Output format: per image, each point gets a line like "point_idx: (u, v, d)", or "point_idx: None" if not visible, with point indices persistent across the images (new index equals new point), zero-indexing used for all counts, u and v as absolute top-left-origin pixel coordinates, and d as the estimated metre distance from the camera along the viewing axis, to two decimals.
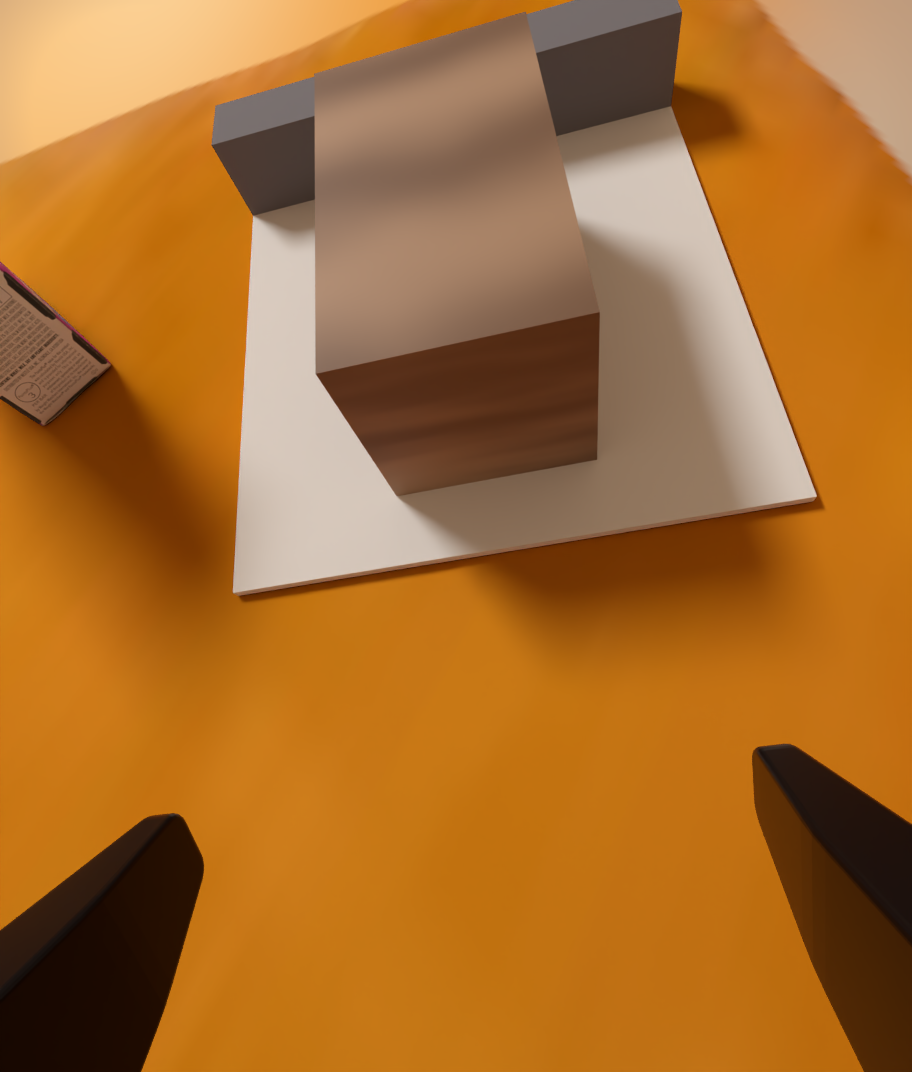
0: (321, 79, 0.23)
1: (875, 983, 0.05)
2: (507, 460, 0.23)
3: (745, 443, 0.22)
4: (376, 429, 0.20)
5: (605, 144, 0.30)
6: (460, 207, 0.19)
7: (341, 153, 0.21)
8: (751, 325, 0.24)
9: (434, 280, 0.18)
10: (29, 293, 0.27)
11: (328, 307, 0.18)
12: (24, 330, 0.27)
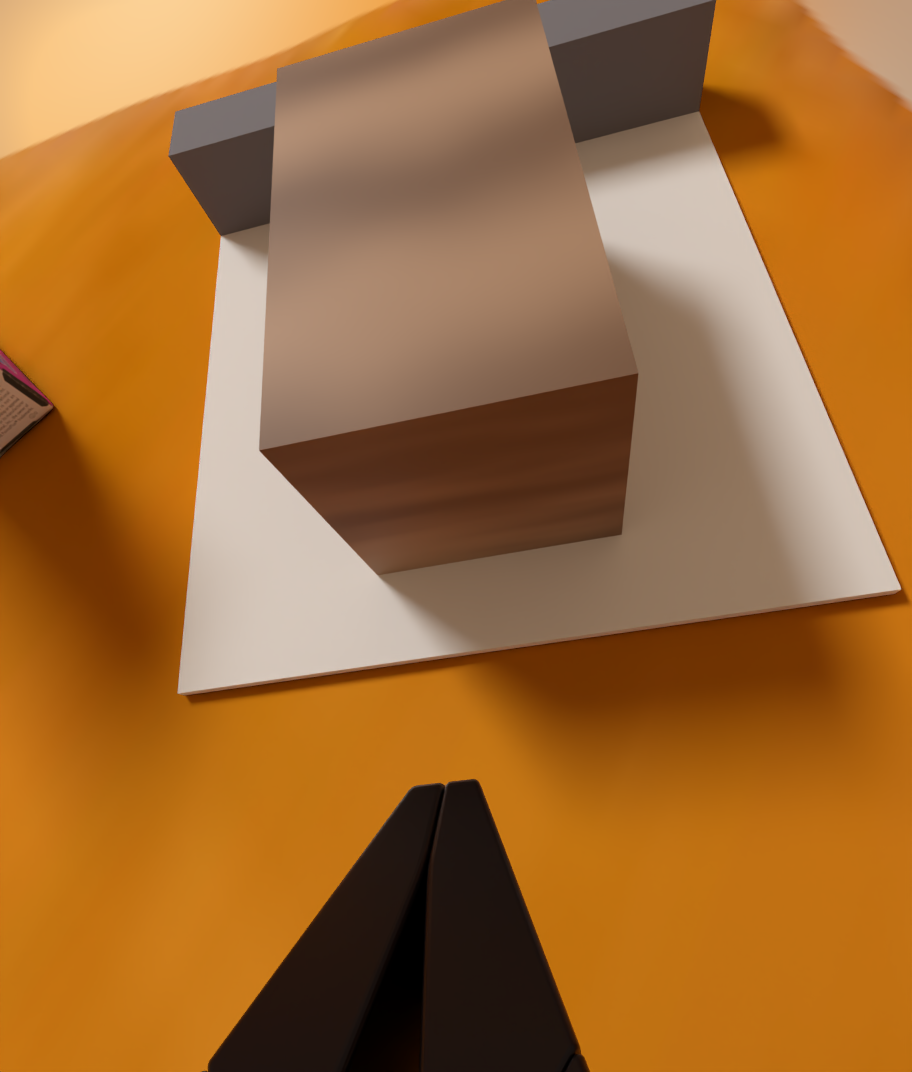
0: (285, 75, 0.19)
1: None
2: (512, 537, 0.19)
3: (806, 517, 0.18)
4: (346, 509, 0.16)
5: (624, 154, 0.26)
6: (452, 230, 0.15)
7: (305, 163, 0.17)
8: (806, 369, 0.20)
9: (417, 325, 0.14)
10: None
11: (280, 360, 0.14)
12: None
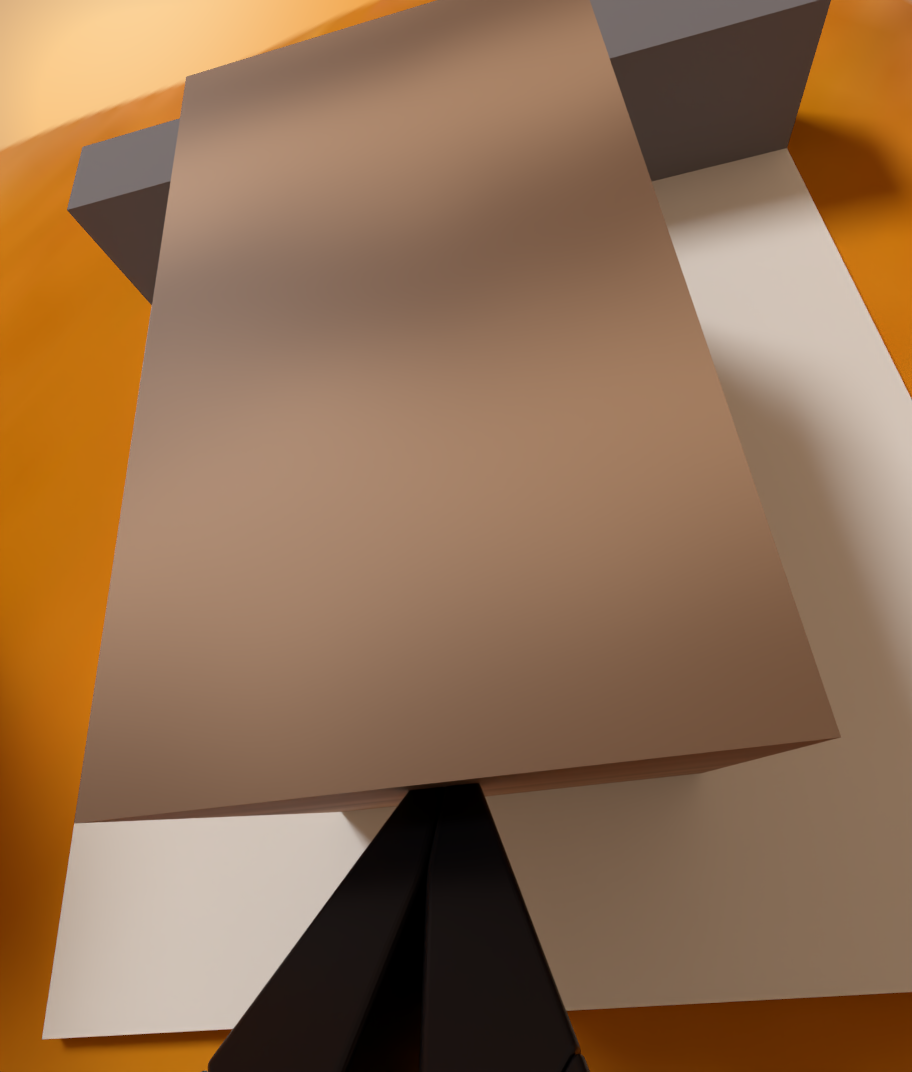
0: (196, 86, 0.12)
1: None
2: (539, 789, 0.12)
3: None
4: (273, 811, 0.10)
5: (685, 207, 0.19)
6: (447, 370, 0.08)
7: (212, 231, 0.10)
8: None
9: (382, 566, 0.07)
10: None
11: (134, 615, 0.08)
12: None
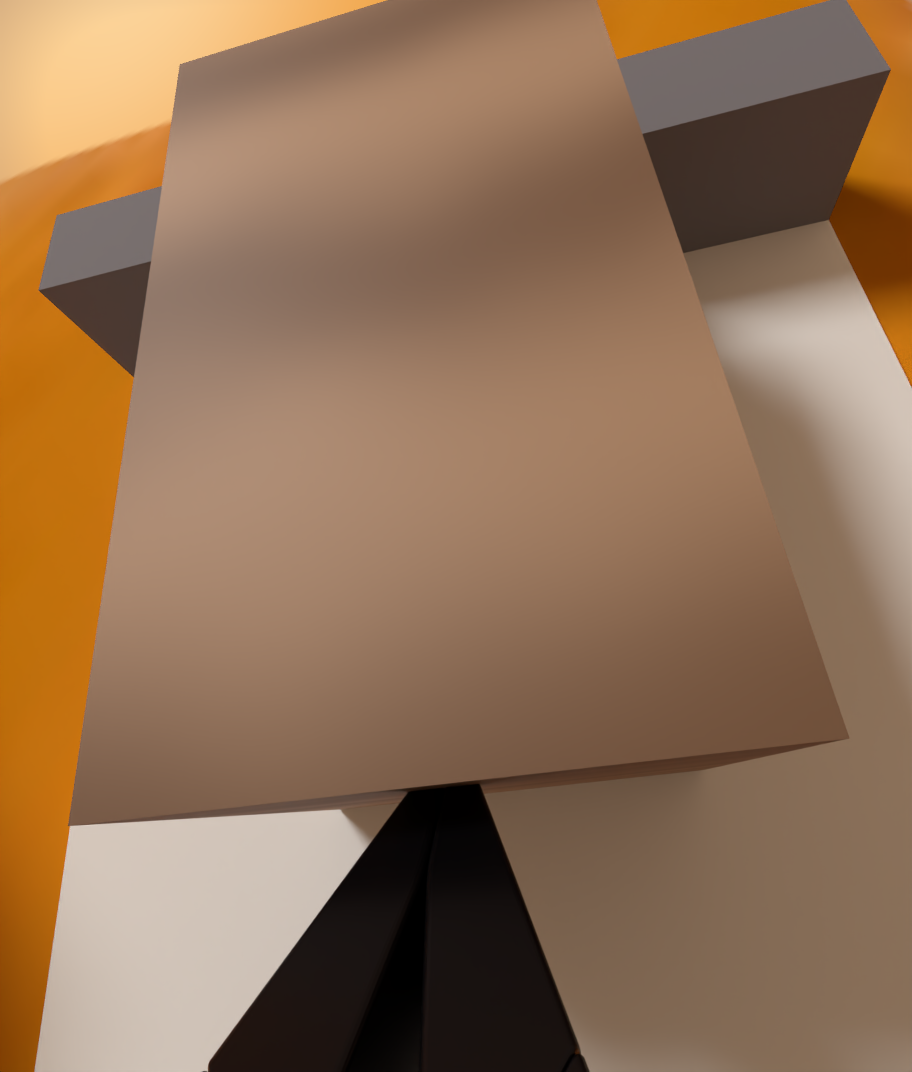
0: (190, 74, 0.12)
1: None
2: (540, 786, 0.12)
3: None
4: (271, 811, 0.10)
5: (718, 285, 0.17)
6: (447, 363, 0.08)
7: (206, 223, 0.10)
8: None
9: (381, 564, 0.07)
10: None
11: (128, 613, 0.08)
12: None
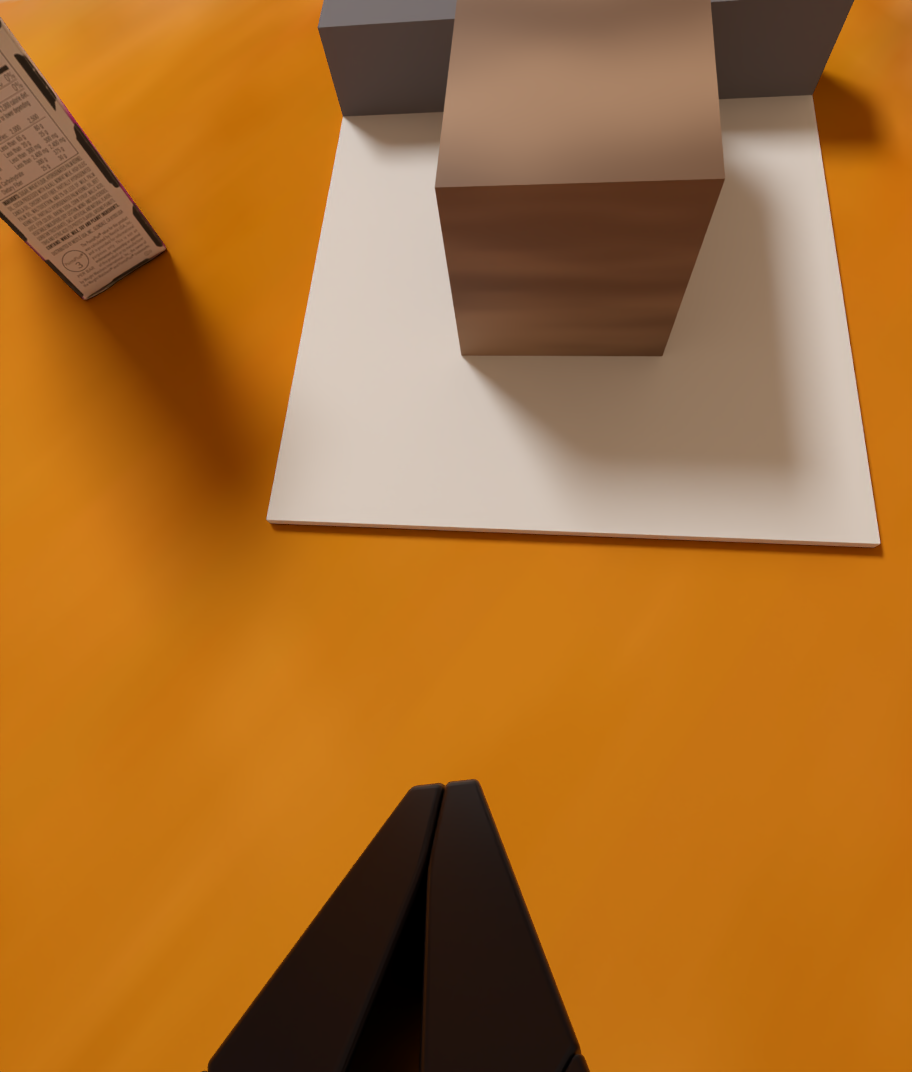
0: None
1: None
2: (579, 337, 0.23)
3: (819, 474, 0.22)
4: (469, 270, 0.21)
5: (735, 121, 0.28)
6: (603, 54, 0.19)
7: None
8: (849, 352, 0.23)
9: (566, 120, 0.18)
10: (96, 153, 0.24)
11: (455, 127, 0.18)
12: (84, 192, 0.25)
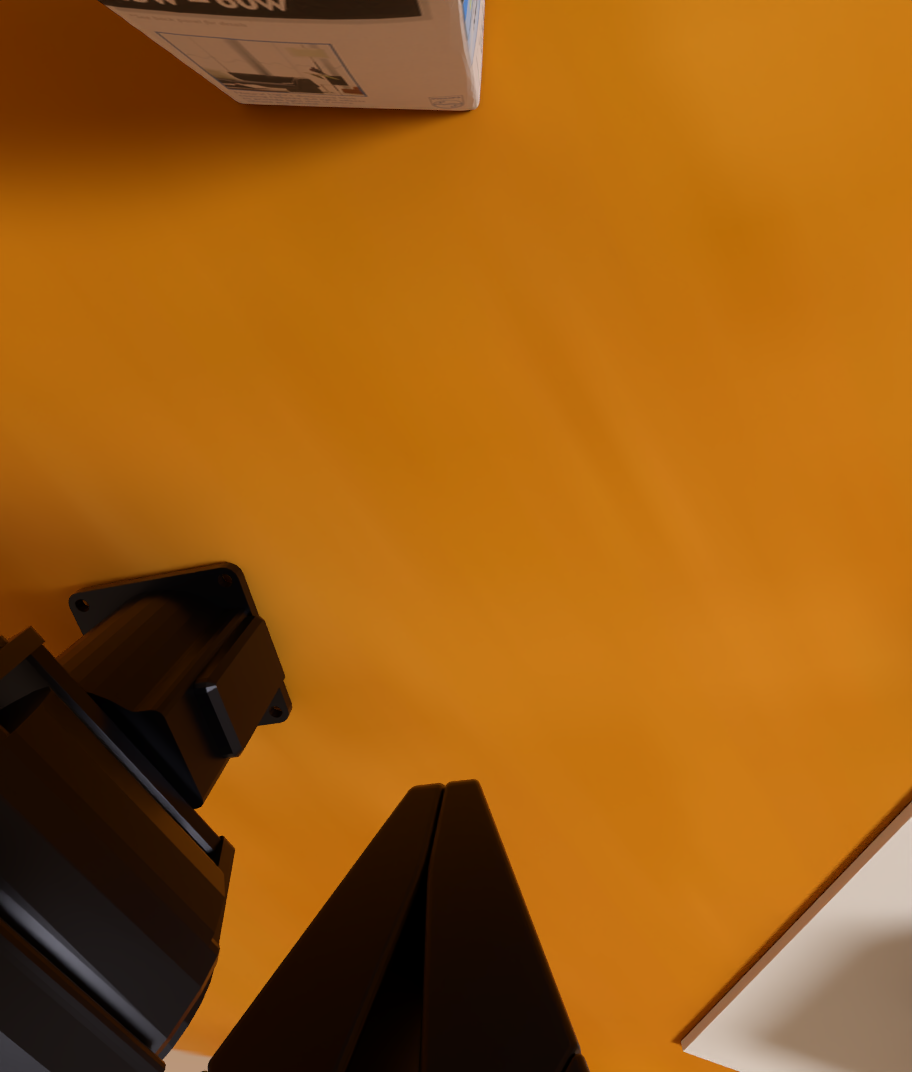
0: None
1: None
2: None
3: (751, 1049, 0.28)
4: None
5: None
6: None
7: None
8: None
9: None
10: None
11: None
12: None
